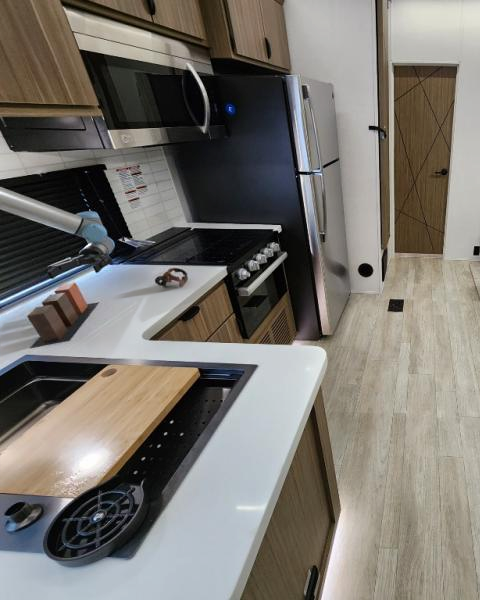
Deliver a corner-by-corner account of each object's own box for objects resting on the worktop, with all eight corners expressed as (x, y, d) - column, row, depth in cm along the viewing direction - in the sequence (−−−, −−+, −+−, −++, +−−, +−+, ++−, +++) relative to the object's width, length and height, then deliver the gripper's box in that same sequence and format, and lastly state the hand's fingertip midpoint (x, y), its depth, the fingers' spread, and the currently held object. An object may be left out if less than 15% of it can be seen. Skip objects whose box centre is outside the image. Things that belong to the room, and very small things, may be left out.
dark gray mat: (67, 308, 125) (67, 307, 125) (100, 303, 129) (99, 302, 128) (30, 350, 103) (28, 348, 102) (70, 342, 106) (69, 340, 106)
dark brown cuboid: (43, 343, 105) (25, 316, 100) (51, 333, 110) (35, 307, 105) (59, 339, 106) (43, 313, 101) (67, 330, 111) (52, 304, 106)
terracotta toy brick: (67, 315, 119) (53, 291, 115) (74, 308, 124) (60, 284, 119) (82, 313, 121) (68, 289, 116) (88, 305, 126) (75, 282, 121)
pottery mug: (176, 279, 148) (180, 264, 145) (190, 292, 146) (194, 277, 143) (147, 284, 137) (151, 268, 134) (161, 297, 135) (166, 281, 132)
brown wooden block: (56, 328, 112) (40, 302, 107) (63, 319, 117) (49, 295, 112) (71, 325, 114) (57, 300, 109) (78, 317, 118) (64, 292, 114)
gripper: (131, 258, 148) (117, 276, 131) (61, 266, 139) (35, 287, 122) (124, 241, 144) (109, 258, 127) (52, 250, 136) (24, 268, 119)
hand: (73, 272), depth 125 cm, fingers open, 13 cm apart
